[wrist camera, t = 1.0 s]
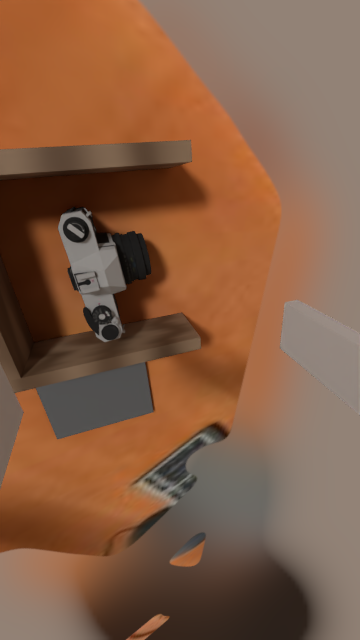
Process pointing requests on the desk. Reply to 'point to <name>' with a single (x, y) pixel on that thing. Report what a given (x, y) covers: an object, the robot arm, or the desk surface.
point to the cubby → (85, 348)
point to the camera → (101, 268)
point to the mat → (97, 399)
